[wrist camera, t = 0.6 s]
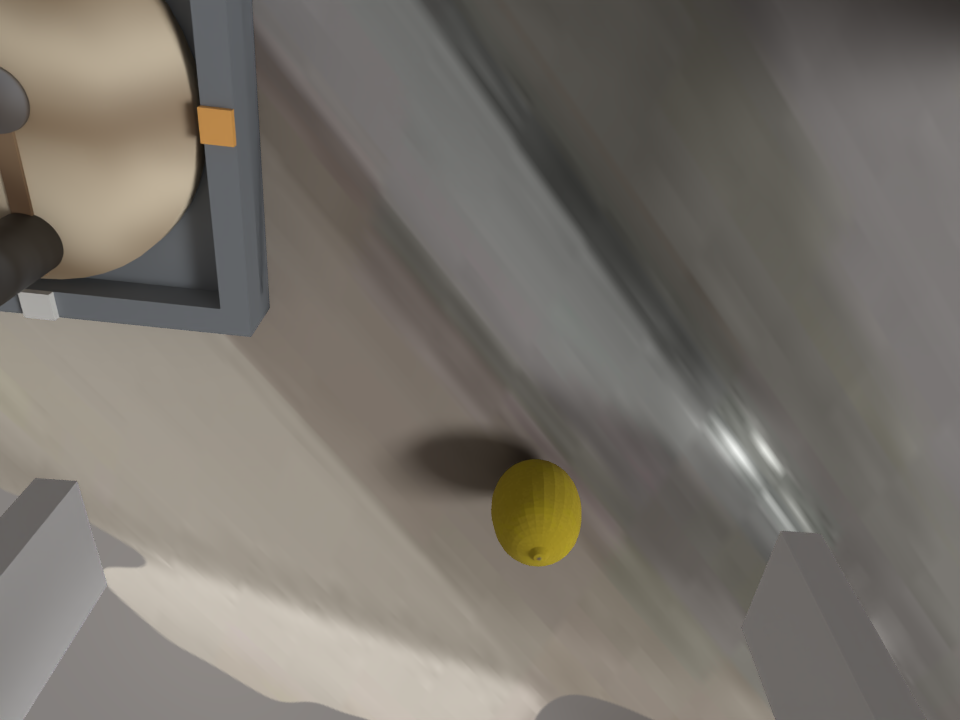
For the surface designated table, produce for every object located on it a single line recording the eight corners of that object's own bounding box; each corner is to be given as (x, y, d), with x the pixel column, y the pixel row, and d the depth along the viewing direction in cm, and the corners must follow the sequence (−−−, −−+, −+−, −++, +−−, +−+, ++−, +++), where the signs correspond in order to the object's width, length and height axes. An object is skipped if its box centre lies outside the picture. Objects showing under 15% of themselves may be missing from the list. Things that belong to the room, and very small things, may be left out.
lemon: (548, 421, 43) (557, 509, 37) (589, 478, 46) (605, 570, 39) (475, 457, 45) (471, 548, 38) (519, 510, 47) (523, 604, 40)
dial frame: (-300, -230, 28) (-410, -256, 24) (242, -161, 29) (208, -176, 25) (-117, 267, 39) (-174, 297, 36) (269, 307, 40) (248, 340, 36)
